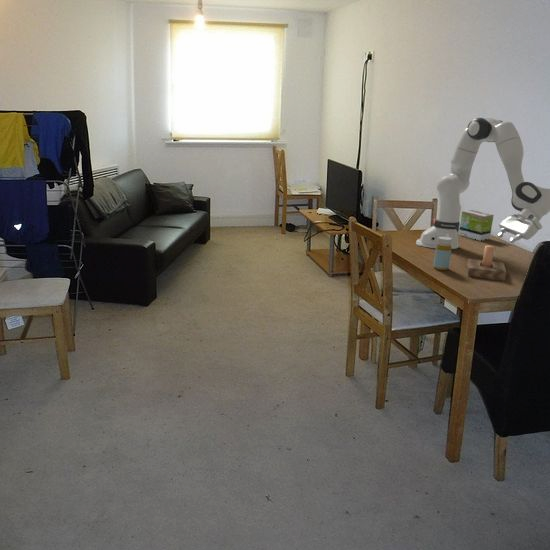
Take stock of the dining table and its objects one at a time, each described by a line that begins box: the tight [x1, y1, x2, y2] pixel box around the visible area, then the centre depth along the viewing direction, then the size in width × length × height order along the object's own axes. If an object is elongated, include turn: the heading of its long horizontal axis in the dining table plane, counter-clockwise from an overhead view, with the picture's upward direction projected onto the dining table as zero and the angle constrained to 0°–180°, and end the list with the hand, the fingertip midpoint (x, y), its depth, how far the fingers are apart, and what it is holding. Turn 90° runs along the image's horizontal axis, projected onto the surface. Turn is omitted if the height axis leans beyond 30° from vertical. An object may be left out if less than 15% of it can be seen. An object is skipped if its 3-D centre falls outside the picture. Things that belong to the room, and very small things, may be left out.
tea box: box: [458, 209, 494, 242], centre depth 326 cm, size 15×10×15 cm
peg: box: [482, 244, 495, 267], centre depth 259 cm, size 4×4×13 cm
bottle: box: [432, 236, 452, 271], centre depth 263 cm, size 7×7×15 cm
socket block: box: [466, 258, 507, 281], centre depth 261 cm, size 16×16×4 cm
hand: (504, 239), depth 258 cm, fingers open, 8 cm apart
